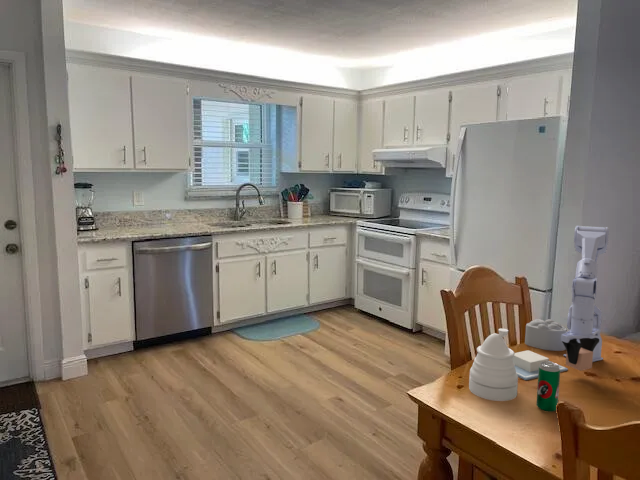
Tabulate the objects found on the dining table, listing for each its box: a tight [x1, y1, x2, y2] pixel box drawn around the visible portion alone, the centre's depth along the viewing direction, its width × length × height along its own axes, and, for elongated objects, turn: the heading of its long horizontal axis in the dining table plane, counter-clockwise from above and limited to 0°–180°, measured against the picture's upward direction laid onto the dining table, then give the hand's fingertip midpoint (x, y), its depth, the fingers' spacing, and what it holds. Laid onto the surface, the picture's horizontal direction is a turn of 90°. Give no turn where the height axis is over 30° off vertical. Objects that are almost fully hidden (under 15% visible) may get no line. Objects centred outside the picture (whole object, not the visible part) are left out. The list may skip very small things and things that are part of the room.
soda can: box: [535, 361, 561, 413], centre depth 127 cm, size 5×5×12 cm
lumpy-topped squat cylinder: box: [524, 318, 568, 352], centre depth 175 cm, size 10×13×9 cm
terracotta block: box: [565, 348, 593, 372], centre depth 146 cm, size 5×5×5 cm
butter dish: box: [512, 349, 569, 381], centre depth 155 cm, size 18×14×4 cm
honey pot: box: [468, 328, 519, 402], centre depth 137 cm, size 13×13×18 cm
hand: (578, 361), depth 147 cm, fingers closed on terracotta block, 5 cm apart
